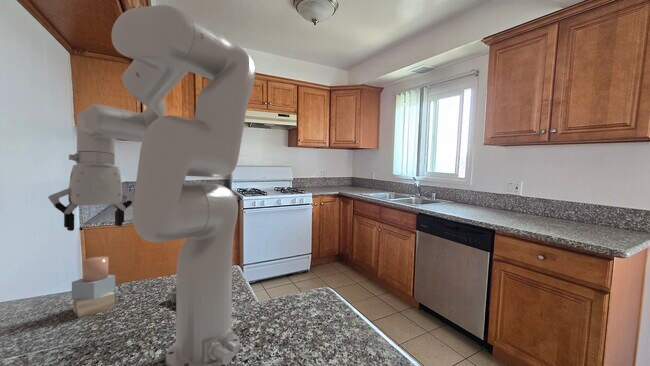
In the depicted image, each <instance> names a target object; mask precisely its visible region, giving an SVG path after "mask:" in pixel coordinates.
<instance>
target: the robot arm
mask: <svg viewBox="0 0 650 366" xmlns="http://www.w3.org/2000/svg"><path fill="white" fill-rule="evenodd" d="M110 37H111V43H112V45H113V47H114V49H115V50H116V52H118V53H119V54H120V55H123V56H124V57H126V58H130V59H132V61H131V63H130V65H129V66H128V67H126V69H125V70H124V72H123V74H122V83H123V85H124V87H125V89H126V90H127V92H128V93H129V94H130V95H131V96H132V97H134V98H135V99H136V100H137V101H139V102H140V103H141V104H143V105H144V106H145V107H146V108H145V109H144V111H142V112H136V111H131V110H127V109H122V108H120V107H113V106H109V105H105V104H98V103H95V104H90V105H89V106H87V108H86V109H84V110H82V111H79V112H78V113H77V117H76V153H73V154H68V160H69V161H74V162H75V164H73V166H72V169H71V171H70V177H69V184H68V187H67V188H66V189H63V190H60V191H58V192H55V193H52V194H50V195H48V197H47V198H48V200H49V201H50V203H52V205H53V207H54V208H55V209H57V210H58V211H60V212H61V213H62V214H63V226H64V228H66V230H67V231H70V232H71V231H72V232H73V231H74V230H75V214H74V213H73V212H74V211H75V210H76V208H78V207H79V206H103V205H104V206H105V205H106V206H107V205H112V206H113V207H114V208H115V209H116V210H115V211H114V225H115V226H116V227H117V226H118V227H122V226H123V223H124V222H125V211H126V210H127V209H128V208H129V207H130V206H131V205H132V222H133V223H132V224H133V226H134V227H133V228H134V230H135V231H136V233H137V235H138V236H139V237H140V238H141V239H143V240H144V241H147V242H151V243H163V242H171V241H177V240H180V239H185V240H184V242H183V244H182V246H181V248H180V250H179V253H178V256H177V260H176V261H177V263H176V287H177V295H176V302H175V304H176V307H175V308H176V309H175V311H176V312H175V313H176V315H175V342H174V343H173V344H172V345H171V346H170V347H169V348H168V350H167V352H166V353H165V364H166V366H227V365H229V364H230V363H231V362H232V360H233V358H234V357H235V356H236V355H237V354H238V352H239V351H240V348H241V345H240V342H241V341H240V337H239V335H237V334H236V332H234V330H233V329H232V317H233V316H232V310H233V309H232V308H233V307H232V304H233V303H232V302H233V299H232V298H233V295H232V293H233V287H232V286H233V251H234V250H233V246H234V236H235V231H236V230H235V229H236V225H237V221H238V214H239V203H238V199H237V197H236V196H235V194H234V192H233V191H232V190H231V189H230V188H228V187H226V186H224V185H221V184H218V183H209V182H207V183H203V182H186V179H187V178H186V177H200V178H202V177H204V178H221V177H225V176H226V177H227V176H228V175H230V174H232V173H233V172H234V171H235V170H236V167H237V164H238V163H239V156H240V150H241V147H242V139H243V133H244V128H245V121H246V112H247V108H248V104H249V101H250V98H251V94H252V92H253V89H254V85H255V80H256V68H255V63H254V61H253V59H252V58H251V56H250V54H249V53H248V52H247V51H246V50H244V48H242V47H241V46H239V45H238V44H236V43H235V42H233V41H232V40H231V39H229V38H227V37H226V36H225V35H222V34H221V33H220V32H217V31H216V30H215V29H213V28H211V27H209V26H208V25H206V24H204V23H203V22H201V21H199V20H197V19H196V18H194V17H193V16H191V14H188V13H187V12H184V11H183V10H181V9H179V8H176V7H175V6H171V5H168V4H167V5H166V4H161V5H160V4H157V5H149V6H147V5H146V6H138V7H133V8H130V9H127V10H126V11H124V12H122V14H120V15H119V16H118V17H117V19H116V20H115V22H114V23H113V26H112V29H111V36H110ZM188 73H192V74H196V75H198V76H200V77H203V78H205V79H208V80H210V81H209V82H208V83H206V85H205V86H203V88H202V89H201V91H200V93H199V94H198V97H197V100H196V107H195V111H194V112H195V113H194V116H193V119H191V118H187V117H184V116H179V115H171V114H170V115H166V104H165V101H164V99H165V97H166V96H167V95H168V94H169V93H170V92H171V91H172V90H173V89H174V88H175V87H176V85H178V84H179V83H180V82H181V81H182V79H184V77H185V76H186V75H187V74H188ZM116 140H123V141H128V142H129V141H130V142H136V143H137V142H138V143H139V142H141V145H140V152H139V159H138V166H137V174H136V179H135V180H136V181H135V188H134V193H133V192H131V191H129V190H126V189H125V188H123V186H122V177H121V171H120V167H119V166H116V165H115V163H116V162H115V159H116V157H115V156H116V155H115V153H116V149H115V148H116V147H115V146H116V145H115V143H116V142H115V141H116ZM65 196H67V197H68V199H67V200H68V204H67V205H64V204H63V203H61V201H60V198H62V197H65ZM123 196H125V197H127V198H126V199H125V201H123ZM122 201H123V203H122Z"/></svg>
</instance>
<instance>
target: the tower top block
mask: <svg viewBox="0 0 650 366" xmlns="http://www.w3.org/2000/svg"><path fill="white" fill-rule="evenodd" d="M115 291H116V275H115V274H108V278H106V279H103V280H99V281H93V282H84V281H83V277H82V278H80V279H77V280H75V281H74V280H73V281H71V299H72V300H73V299H92V300H94V299H96V298H99V297H101V296H103V295H106V294H108V293H110V292H115Z"/></svg>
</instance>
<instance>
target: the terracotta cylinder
mask: <svg viewBox="0 0 650 366" xmlns="http://www.w3.org/2000/svg"><path fill="white" fill-rule="evenodd" d="M108 275H109V256H104V255H103V256H93V257H88V258H85V259H83V260H82V278H83V281H84V282H93V281H99V280H103V279H106V278H108Z"/></svg>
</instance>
